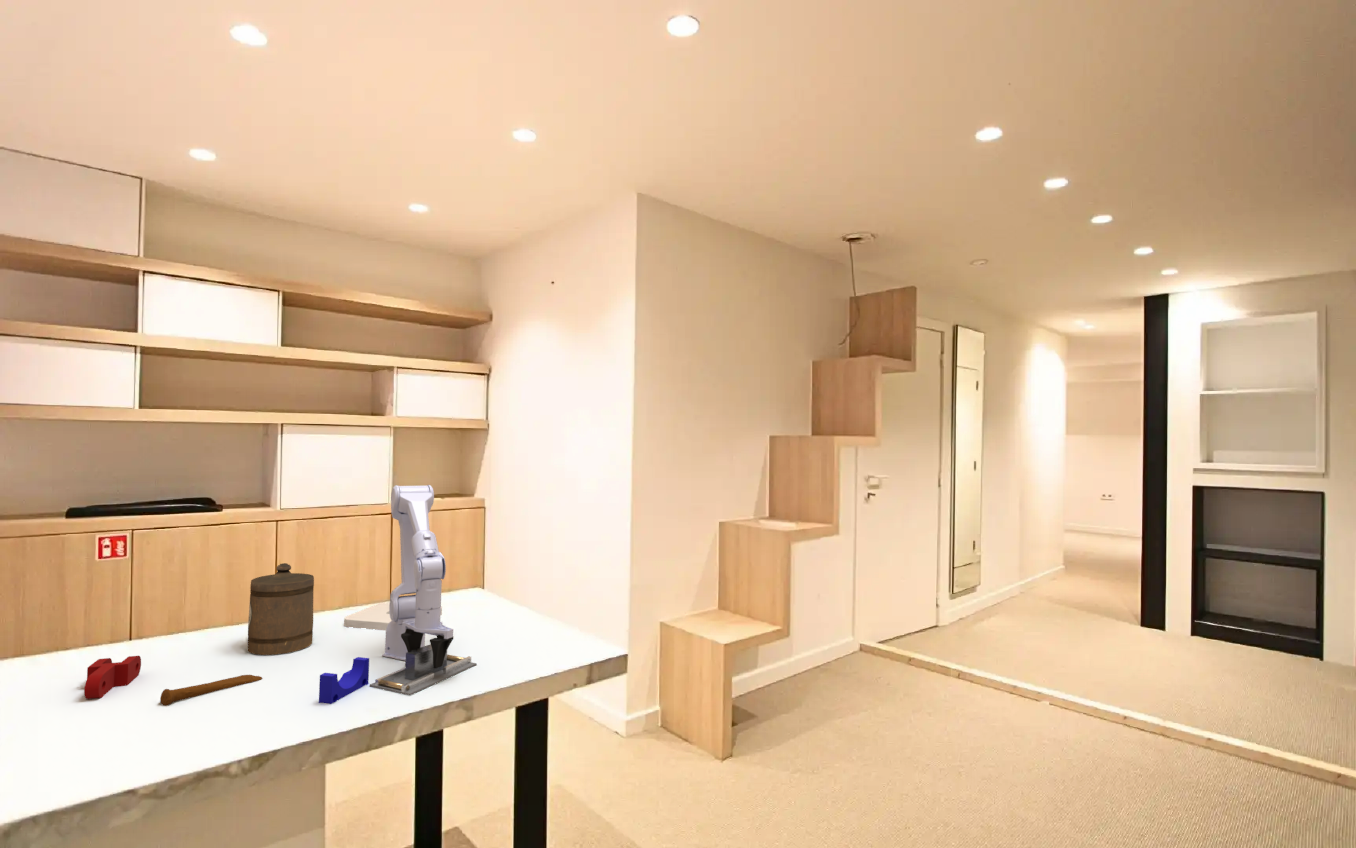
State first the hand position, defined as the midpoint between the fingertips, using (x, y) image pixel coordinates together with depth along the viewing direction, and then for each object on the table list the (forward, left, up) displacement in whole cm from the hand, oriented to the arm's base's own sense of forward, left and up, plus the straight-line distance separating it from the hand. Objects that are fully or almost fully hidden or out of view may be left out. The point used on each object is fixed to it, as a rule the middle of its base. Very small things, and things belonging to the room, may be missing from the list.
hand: (426, 664), depth 156 cm
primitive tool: (-35, -27, -3) cm, 44 cm away
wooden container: (-49, -1, -3) cm, 49 cm away
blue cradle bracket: (-9, -16, -3) cm, 19 cm away
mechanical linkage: (-56, -36, -3) cm, 67 cm away
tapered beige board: (-43, +32, -3) cm, 54 cm away
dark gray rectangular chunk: (0, 0, -2) cm, 2 cm away
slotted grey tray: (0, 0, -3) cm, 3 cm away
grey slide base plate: (0, 0, -3) cm, 3 cm away
